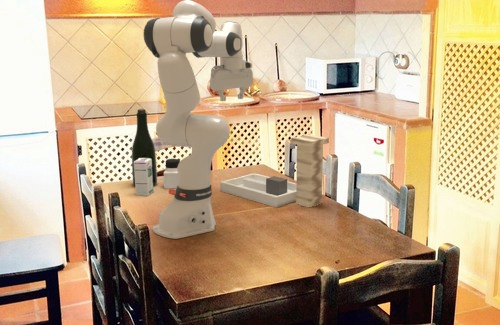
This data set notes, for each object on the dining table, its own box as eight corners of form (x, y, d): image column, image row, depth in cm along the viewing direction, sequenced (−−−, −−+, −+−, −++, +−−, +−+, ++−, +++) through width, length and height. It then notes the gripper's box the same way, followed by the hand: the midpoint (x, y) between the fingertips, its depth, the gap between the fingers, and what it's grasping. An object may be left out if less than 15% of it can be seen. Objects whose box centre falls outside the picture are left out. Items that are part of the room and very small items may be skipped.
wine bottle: (158, 186, 260) (155, 110, 253) (134, 188, 258) (129, 111, 250) (155, 180, 270) (152, 107, 263) (132, 182, 268) (127, 108, 260)
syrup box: (148, 195, 248) (147, 161, 244) (135, 195, 249) (133, 160, 245) (153, 192, 253) (152, 158, 250) (140, 191, 254) (138, 157, 251)
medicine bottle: (180, 188, 258) (179, 161, 255) (164, 188, 258) (162, 161, 255) (183, 184, 265) (182, 157, 262) (166, 184, 265) (165, 157, 262)
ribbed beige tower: (310, 209, 228) (311, 141, 222) (290, 204, 235) (291, 138, 229) (327, 203, 235) (328, 137, 229) (307, 198, 242) (308, 134, 236)
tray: (276, 207, 231) (276, 197, 230) (220, 191, 253) (220, 181, 252) (310, 196, 245) (310, 186, 244) (254, 181, 267) (254, 173, 266)
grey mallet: (279, 196, 242) (279, 181, 241) (241, 186, 256) (241, 172, 255) (287, 193, 246) (287, 179, 244) (249, 184, 260) (249, 170, 258)
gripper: (216, 66, 228) (217, 103, 231) (255, 63, 242) (255, 98, 245) (205, 65, 232) (206, 101, 235) (244, 62, 246) (244, 97, 249)
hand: (231, 99), depth 240 cm, fingers open, 8 cm apart
